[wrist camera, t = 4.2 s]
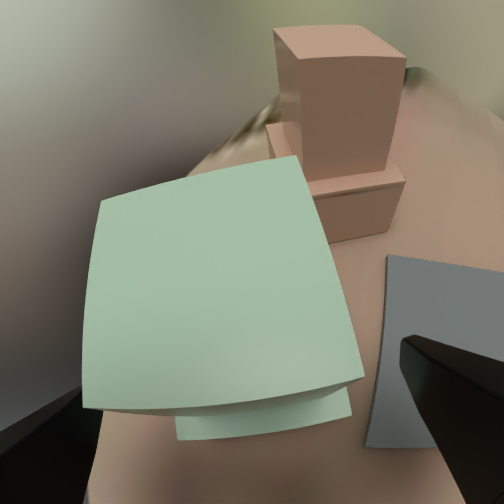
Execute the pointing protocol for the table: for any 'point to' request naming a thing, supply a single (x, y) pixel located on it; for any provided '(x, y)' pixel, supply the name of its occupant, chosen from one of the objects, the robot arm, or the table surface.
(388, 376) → the mat
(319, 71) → the pink stepped block
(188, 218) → the stepped green tower
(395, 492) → the table surface
